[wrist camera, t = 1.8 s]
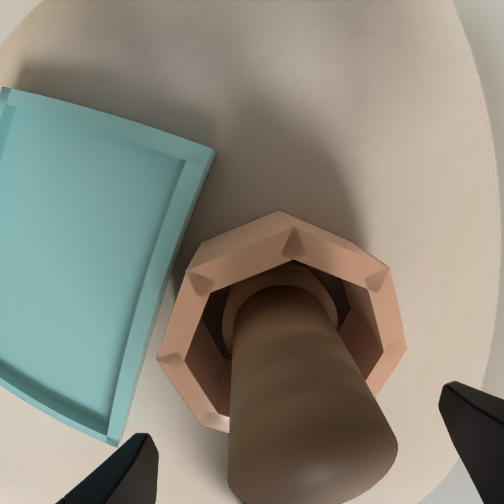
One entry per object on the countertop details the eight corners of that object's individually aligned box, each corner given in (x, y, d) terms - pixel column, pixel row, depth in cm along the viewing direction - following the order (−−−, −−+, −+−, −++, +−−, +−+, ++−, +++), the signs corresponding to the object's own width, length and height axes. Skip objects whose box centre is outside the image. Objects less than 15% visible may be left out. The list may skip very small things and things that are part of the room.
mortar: (393, 260, 15) (439, 290, 11) (314, 399, 17) (331, 453, 13) (223, 187, 14) (215, 192, 10) (162, 352, 16) (141, 405, 12)
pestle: (344, 282, 16) (452, 413, 6) (300, 365, 17) (343, 522, 7) (247, 244, 15) (258, 372, 5) (209, 336, 16) (182, 503, 6)
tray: (216, 152, 14) (212, 148, 12) (125, 427, 18) (117, 447, 16) (23, 92, 12) (2, 86, 10) (-14, 351, 16) (-28, 364, 14)
